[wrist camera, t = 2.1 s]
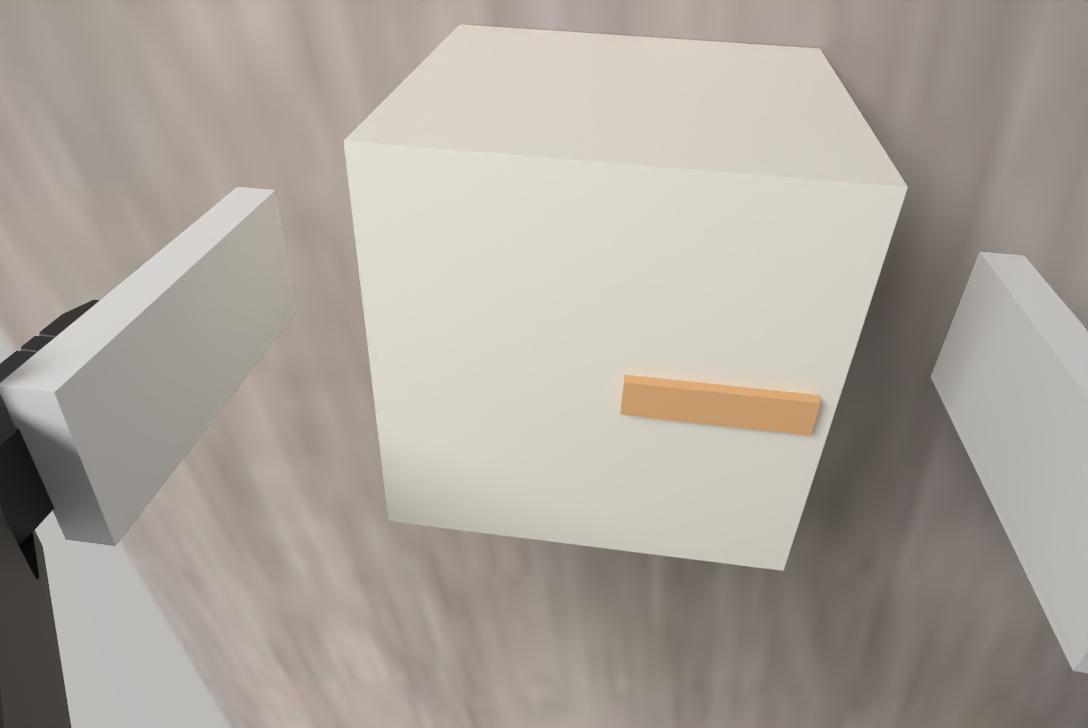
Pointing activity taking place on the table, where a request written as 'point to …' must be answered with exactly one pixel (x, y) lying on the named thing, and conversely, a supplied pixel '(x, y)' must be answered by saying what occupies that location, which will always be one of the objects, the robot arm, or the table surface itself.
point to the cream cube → (615, 286)
